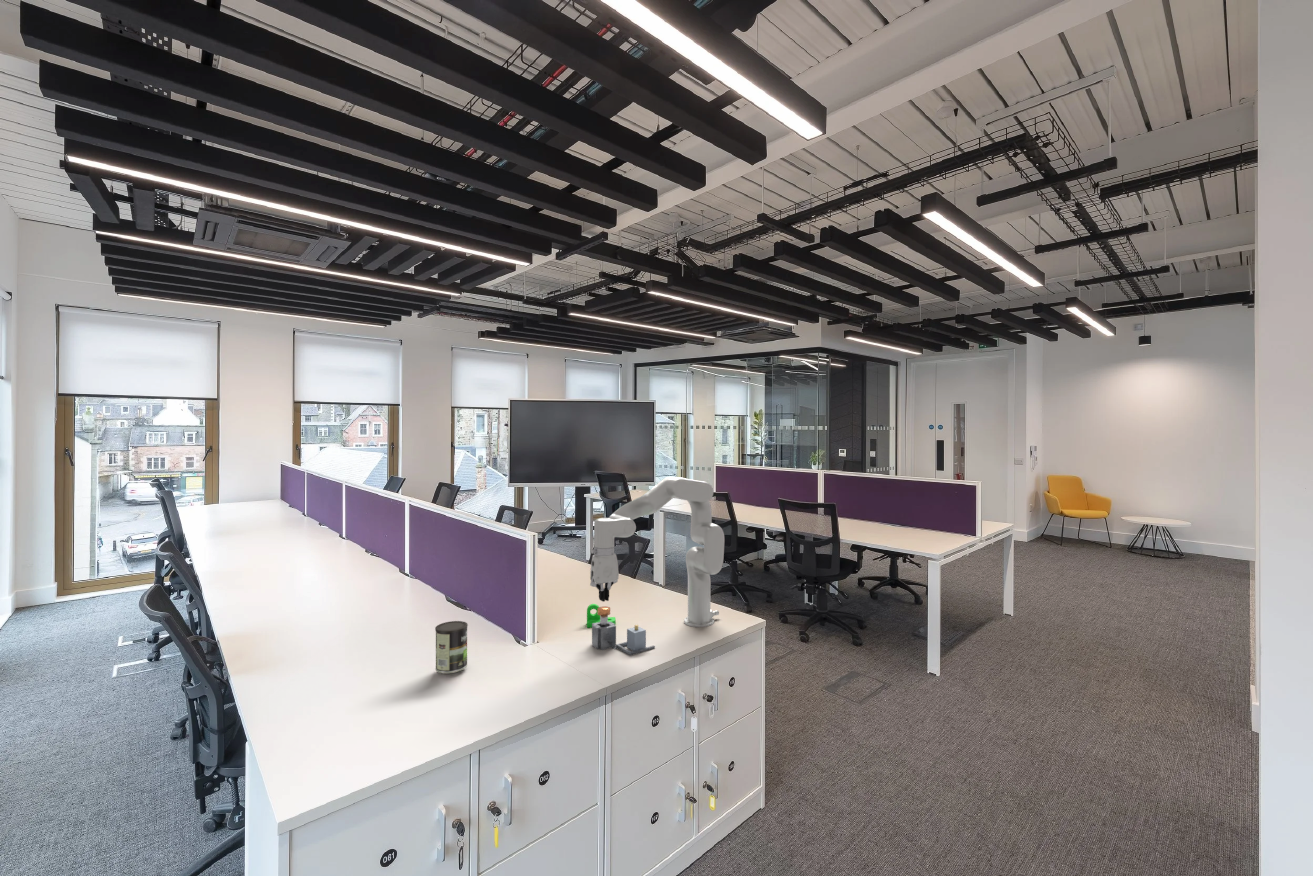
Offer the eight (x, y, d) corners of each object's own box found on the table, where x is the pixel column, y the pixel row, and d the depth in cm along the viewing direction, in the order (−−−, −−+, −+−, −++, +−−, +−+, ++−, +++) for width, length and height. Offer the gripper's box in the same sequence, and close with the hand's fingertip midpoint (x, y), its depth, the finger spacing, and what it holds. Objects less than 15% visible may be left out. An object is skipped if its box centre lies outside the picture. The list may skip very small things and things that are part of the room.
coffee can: (469, 660, 189) (470, 619, 189) (464, 672, 179) (464, 630, 179) (439, 662, 187) (439, 621, 187) (431, 674, 177) (431, 632, 177)
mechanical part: (587, 627, 222) (587, 608, 222) (586, 622, 228) (586, 604, 228) (616, 626, 224) (616, 607, 224) (615, 621, 230) (615, 602, 230)
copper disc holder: (607, 640, 208) (607, 620, 208) (617, 646, 201) (617, 625, 201) (590, 644, 203) (590, 624, 203) (599, 651, 197) (600, 629, 197)
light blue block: (638, 644, 202) (638, 622, 202) (645, 649, 198) (645, 626, 198) (627, 647, 199) (627, 625, 199) (634, 652, 195) (634, 628, 195)
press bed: (640, 640, 207) (640, 636, 207) (658, 651, 197) (658, 646, 197) (611, 648, 200) (611, 644, 200) (628, 659, 190) (628, 654, 190)
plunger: (606, 627, 206) (606, 605, 206) (612, 631, 202) (612, 608, 202) (595, 630, 203) (595, 607, 203) (601, 634, 199) (601, 611, 199)
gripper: (590, 555, 195) (590, 606, 195) (626, 550, 204) (626, 599, 204) (581, 552, 201) (581, 601, 201) (616, 547, 210) (616, 594, 210)
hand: (604, 600), depth 202 cm, fingers closed
